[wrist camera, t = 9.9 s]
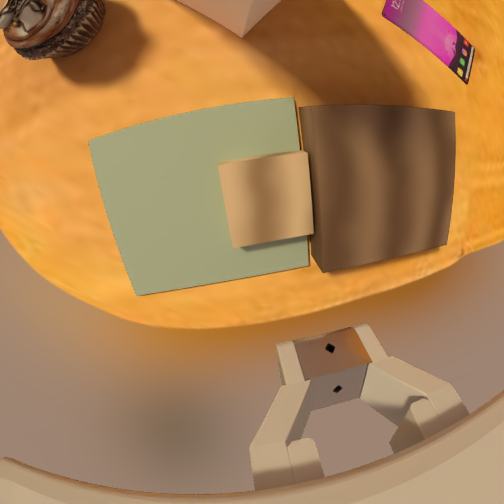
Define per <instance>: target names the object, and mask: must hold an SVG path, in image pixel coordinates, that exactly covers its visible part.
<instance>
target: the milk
mask: <svg viewBox="0 0 504 504" xmlns="http://www.w3.org/2000/svg"><path fill="white" fill-rule="evenodd" d="M177 1H179V2H181V3H183V4H185V5H187V6H188V7H190V8H192V9H194V10H196V11H198V12H200V13H201V14H203V15H205V16H207V17H209V18H210V19H212V20H214V21H215V22H217V23H219V24H220V25H222V26H224V27H225V28H227V29H229V30H230V31H232V32H233V33H235V34H236V35H238V36H239V37H241V38H242V37H243V36H244V35H245V34H246V33H247V32H248V31H249V30H250V29H251V28H252V27H253V26H254V25H255V24H256V23H257V22H258V21H259V20H261V19H262V18H263V17H264V16H265V15H266V14H267V13H268V12H269V11H270V10H271V9H272V8H273V7H275V6H276V5H277V4H278V3H279V2H280V1H281V0H177Z"/></svg>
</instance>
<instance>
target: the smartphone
mask: <svg viewBox="0 0 504 504" xmlns="http://www.w3.org/2000/svg"><path fill="white" fill-rule="evenodd" d="M382 16H383V17H384V18H386V19H387V20H389V21H390V22H392V23H393V24H395V25H396V26H398V27H399V28H401V29H402V30H403V31H405V32H406V33H408V34H409V35H410V36H412V37H413V38H414V39H416V40H417V41H418V42H419V43H421V44H422V45H423V46H424V47H426V48H427V49H428V50H429V51H431V52H432V53H433V54H434V55H435V56H436V57H438V58H439V59H440V60H441V61H442V62H443V63H444V64H446V65H447V66H448V67H449V68H450V69H451V70H452V71H453V72H454V73H455V74H456V75H457V76H458V77H459V78H460V79H461V80H462V81H463V82H464V83H465V84H468V81H469V77H470V72H471V67H472V63H473V57H474V52H475V49H474V47H473V46H472V45H471V44H470V43H469V42H468V41H467V40H466V39H465V38H464V37H463V36H462V35H461V34H460V33H459V32H458V31H457V30H456V29H455V28H454V27H453V26H452V25H451V24H450V23H449V22H448V21H446V20H445V19H444V18H443V17H442V16H441V15H440V14H439V13H437V12H436V11H435V10H434V9H433V8H432V7H430V6H429V5H428V4H427V3H425V2H424V1H423V0H386V3H385V6H384V9H383V12H382Z"/></svg>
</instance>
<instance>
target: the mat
mask: <svg viewBox="0 0 504 504" xmlns="http://www.w3.org/2000/svg"><path fill="white" fill-rule="evenodd" d="M88 143H89V147H90V152H91V156H92V161H93V165H94V169H95V173H96V177H97V181H98V185H99V188H100V192H101V196H102V199H103V202H104V206H105V209H106V213H107V216H108V219H109V222H110V225H111V228H112V232H113V235H114V238H115V240H116V243H117V246H118V249H119V252H120V255H121V258H122V260H123V263H124V266H125V268H126V271H127V274H128V276H129V279H130V281H131V284H132V286H133V289H134V291H135V294H136V296H138V295H145V294H151V293H157V292H164V291H170V290H176V289H182V288H188V287H194V286H200V285H206V284H211V283H217V282H223V281H229V280H234V279H240V278H245V277H251V276H256V275H262V274H267V273H273V272H278V271H283V270H289V269H294V268H299V267H304V266H309V262H308V243H307V235H303V236H298V237H292V238H287V239H281V240H276V241H270V242H264V243H259V244H253V245H248V246H242V247H237V248H233V246H232V240H231V235H230V230H229V225H228V219H227V214H226V209H225V203H224V198H223V193H222V187H221V182H220V176H219V171H218V162H223V161H229V160H235V159H240V158H247V157H253V156H260V155H267V154H274V153H281V152H289V151H298V150H300V146H299V137H298V128H297V120H296V112H295V104H294V97H292V98H280V99H269V100H260V101H251V102H244V103H237V104H230V105H224V106H218V107H212V108H206V109H201V110H196V111H191V112H186V113H182V114H177V115H173V116H169V117H165V118H161V119H157V120H153V121H149V122H145V123H142V124H138V125H135V126H131V127H128V128H125V129H121V130H118V131H115V132H112V133H109V134H106V135H103V136H100V137H97V138H94V139H92V140H89V141H88Z"/></svg>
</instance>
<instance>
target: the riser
mask: <svg viewBox="0 0 504 504" xmlns="http://www.w3.org/2000/svg"><path fill="white" fill-rule="evenodd" d="M299 115H300V123H301V131H302V140H303V150H304V151H305V152H307V153H308V163H309V174H310V186H311V198H312V213H313V229H314V234H310V239H311V255H312V257H313V258H314V260H315V262H316V263H317V265H318V266H319V268H320V269H321V271H322V273H326V272H331V271H335V270H340V269H345V268H350V267H354V266H359V265H363V264H368V263H372V262H377V261H381V260H386V259H390V258H394V257H399V256H403V255H407V254H411V253H415V252H420V251H424V250H428V249H432V248H436V247H440V246H444V245H447V240H448V234H449V227H450V220H451V212H452V203H453V192H454V178H455V153H456V134H455V112H452V111H445V110H437V109H428V108H418V107H406V106H389V105H318V106H305V107H299Z"/></svg>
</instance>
